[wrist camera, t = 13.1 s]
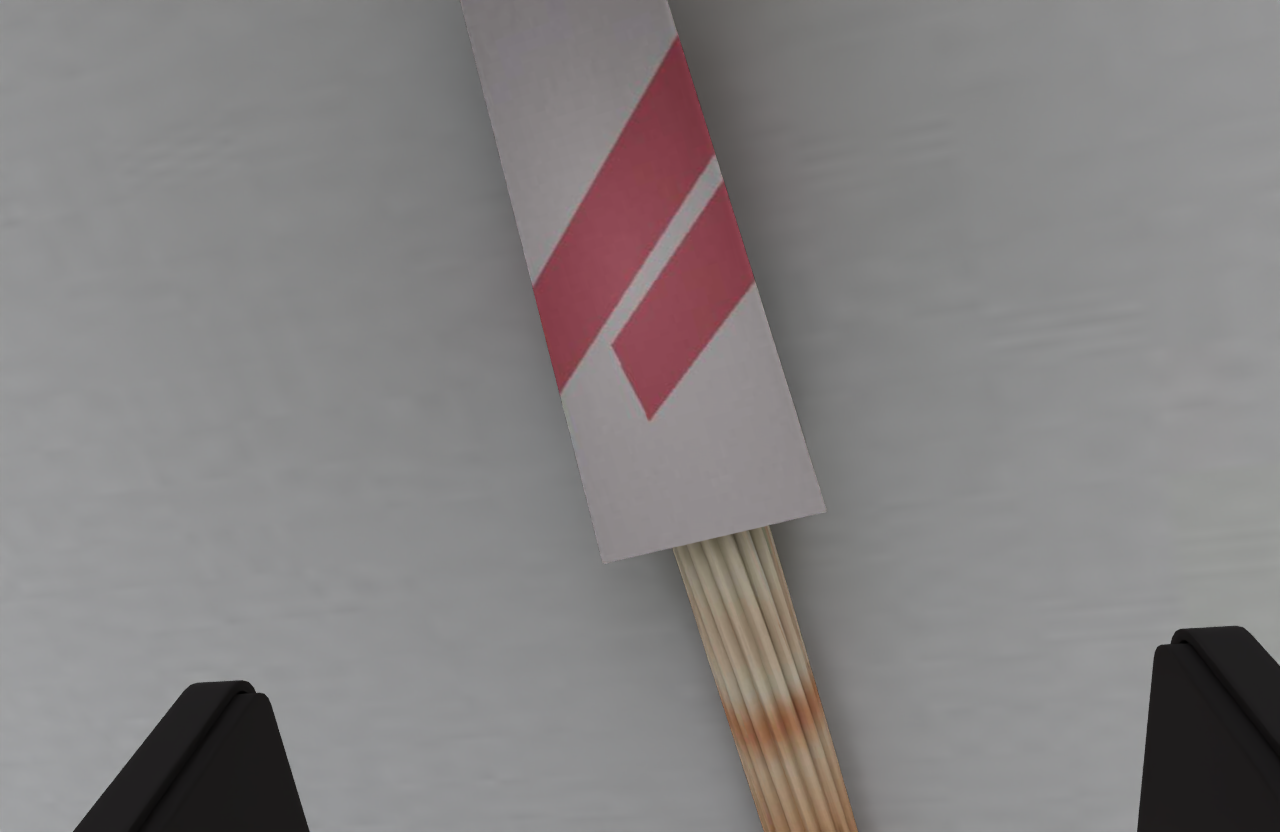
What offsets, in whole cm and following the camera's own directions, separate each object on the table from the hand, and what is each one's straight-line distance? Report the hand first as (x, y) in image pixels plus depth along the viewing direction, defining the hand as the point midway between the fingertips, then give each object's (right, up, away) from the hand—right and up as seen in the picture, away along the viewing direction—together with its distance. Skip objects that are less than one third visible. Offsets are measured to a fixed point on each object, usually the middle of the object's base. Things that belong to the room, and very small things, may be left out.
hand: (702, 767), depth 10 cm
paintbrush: (+1, +3, +8) cm, 9 cm away
